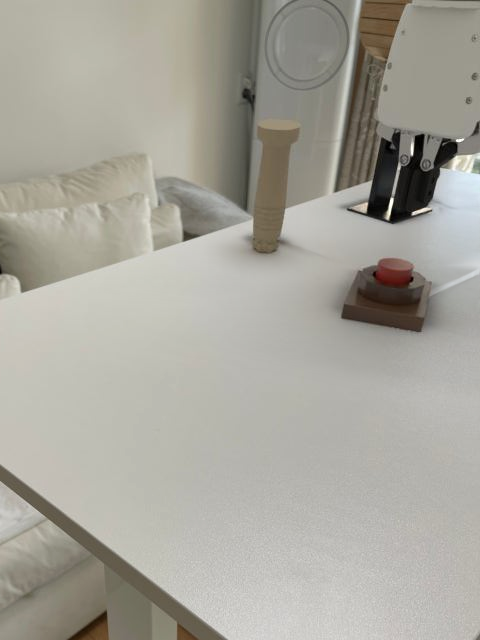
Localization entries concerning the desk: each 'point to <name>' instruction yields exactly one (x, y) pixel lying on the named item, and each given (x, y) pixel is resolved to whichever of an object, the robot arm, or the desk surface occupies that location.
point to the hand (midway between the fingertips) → (412, 207)
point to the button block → (387, 301)
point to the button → (394, 271)
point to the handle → (272, 181)
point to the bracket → (386, 189)
